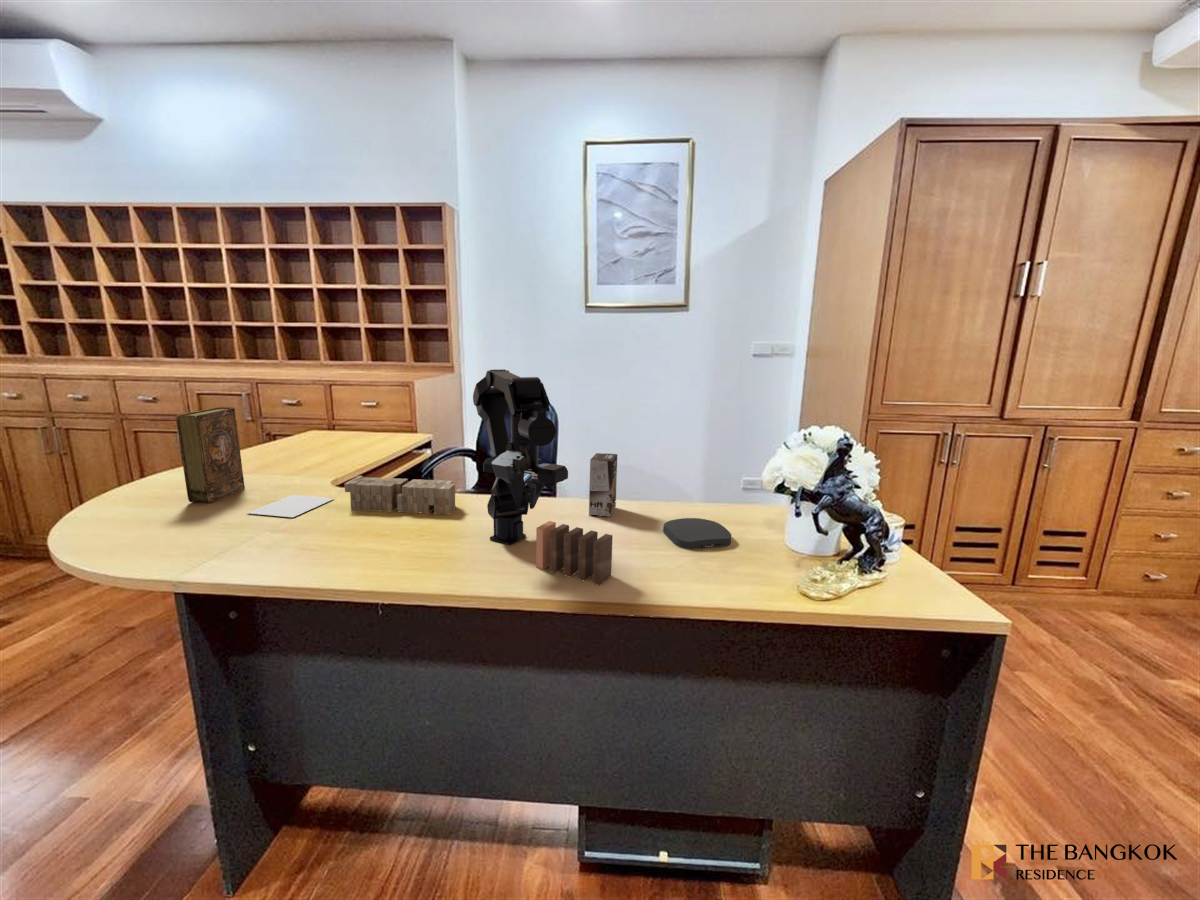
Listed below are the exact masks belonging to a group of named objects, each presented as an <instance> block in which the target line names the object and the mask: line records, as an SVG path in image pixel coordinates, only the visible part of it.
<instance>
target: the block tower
mask: <svg viewBox="0 0 1200 900" xmlns="http://www.w3.org/2000/svg"><path fill="white" fill-rule="evenodd" d="M344 492H345V493H349V495H350V510H353V511H365V512H366V511H370V512H371V511H373V512H389V513H392V512H393V510H394V511H395V510H397V512H398V513H412V512H413V513H414V512H421V513H420V514H429V513H431V512H432V511H433V514H434V513H440V514H441V515H450V514H451V513H452V512H454V510H455V509H456V484H455V483H454V481H453V480H441V479H439V480H437V479H417V478H416V479H414V478H413V479H411V480H410V481H409V479H408V478H393V477H364V475H358V476H356V477H353V478H352V479H350V480H349V481H346V482H345V483H344ZM396 508H397V509H396ZM431 510H432V511H431ZM430 511H431V512H430ZM440 514H439V515H440Z"/></svg>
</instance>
